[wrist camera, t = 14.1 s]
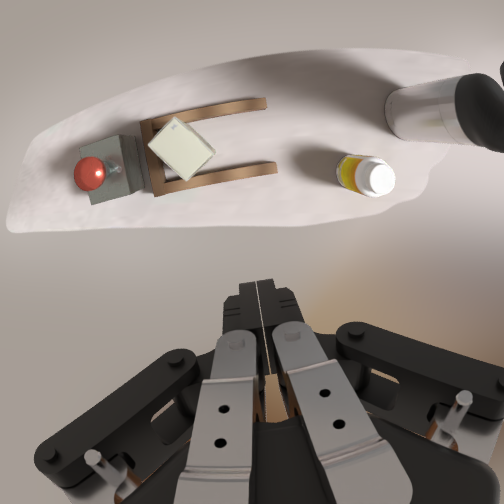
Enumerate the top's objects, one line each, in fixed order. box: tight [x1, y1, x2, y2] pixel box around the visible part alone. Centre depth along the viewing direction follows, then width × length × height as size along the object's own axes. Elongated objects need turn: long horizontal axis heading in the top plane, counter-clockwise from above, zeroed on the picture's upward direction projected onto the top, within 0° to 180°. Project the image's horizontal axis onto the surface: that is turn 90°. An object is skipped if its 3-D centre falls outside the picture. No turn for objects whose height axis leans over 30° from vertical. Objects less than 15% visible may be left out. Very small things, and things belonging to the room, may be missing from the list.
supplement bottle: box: [336, 155, 395, 197], centre depth 38 cm, size 6×6×10 cm
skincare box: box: [148, 117, 216, 181], centre depth 34 cm, size 6×4×12 cm
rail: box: [140, 98, 278, 197], centre depth 39 cm, size 18×11×3 cm, turn 99°
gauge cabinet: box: [79, 135, 145, 205], centre depth 36 cm, size 6×8×7 cm
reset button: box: [74, 156, 110, 191], centre depth 31 cm, size 4×4×4 cm
